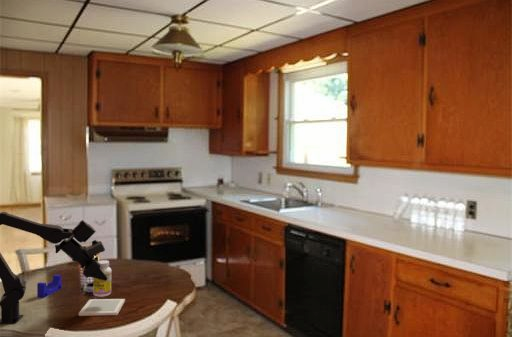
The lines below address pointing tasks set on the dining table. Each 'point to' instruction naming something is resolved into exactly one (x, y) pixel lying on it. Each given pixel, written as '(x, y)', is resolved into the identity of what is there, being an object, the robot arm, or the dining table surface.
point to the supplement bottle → (103, 281)
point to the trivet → (102, 307)
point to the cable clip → (49, 286)
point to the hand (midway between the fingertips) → (106, 277)
